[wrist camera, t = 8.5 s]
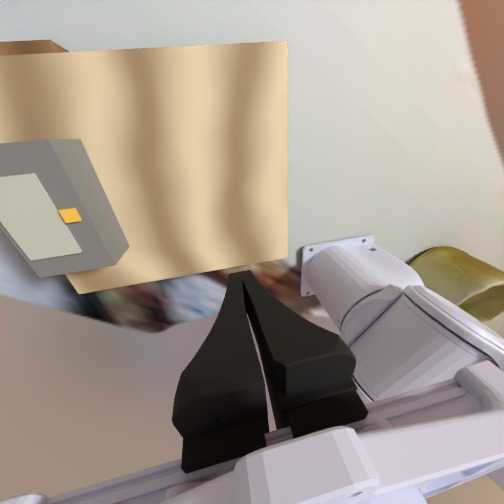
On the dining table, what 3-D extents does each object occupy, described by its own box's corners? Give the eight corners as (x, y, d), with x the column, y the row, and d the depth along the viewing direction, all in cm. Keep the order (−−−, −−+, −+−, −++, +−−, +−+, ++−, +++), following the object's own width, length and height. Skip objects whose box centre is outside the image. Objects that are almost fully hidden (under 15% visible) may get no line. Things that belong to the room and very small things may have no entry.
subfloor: (272, 42, 15) (287, 17, 12) (277, 249, 24) (287, 265, 21) (-32, 57, 13) (-106, 32, 10) (101, 279, 22) (84, 302, 19)
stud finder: (80, 139, 13) (44, 139, 10) (129, 246, 17) (113, 267, 14) (-6, 147, 12) (-69, 149, 10) (66, 256, 16) (36, 280, 14)
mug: (481, 223, 25) (569, 294, 19) (452, 263, 33) (508, 322, 27) (379, 255, 28) (427, 326, 22) (374, 285, 36) (409, 344, 30)
